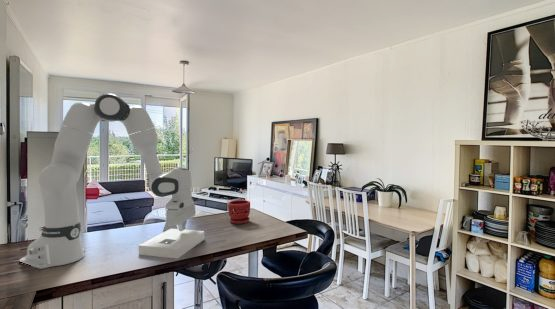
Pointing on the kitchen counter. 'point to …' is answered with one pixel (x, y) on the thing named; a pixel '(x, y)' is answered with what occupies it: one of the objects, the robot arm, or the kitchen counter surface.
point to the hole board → (178, 246)
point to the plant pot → (239, 211)
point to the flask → (169, 227)
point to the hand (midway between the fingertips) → (182, 230)
